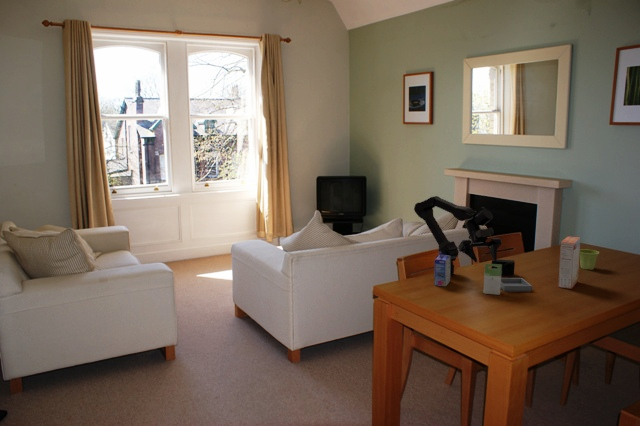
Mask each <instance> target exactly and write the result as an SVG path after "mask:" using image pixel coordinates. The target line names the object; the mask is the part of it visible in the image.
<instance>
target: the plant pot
mask: <svg viewBox="0 0 640 426" xmlns="http://www.w3.org/2000/svg"><path fill="white" fill-rule="evenodd" d="M599 254H600V251H598V250H594V249H587V248H585V249H584V248H583V249H580V252H579V263H580V264H579V266H580V268H581V269H582V270H589V271H590V270H591V271H592V270H594V269H595V267H596V262H597V258H598V256H599Z"/></svg>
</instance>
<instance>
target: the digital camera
mask: <svg viewBox="0 0 640 426" xmlns="http://www.w3.org/2000/svg"><path fill="white" fill-rule="evenodd" d="M491 264H501V265H502V267H501V271H502V272H501V277H502V276H504V277H505V276H506V277H515V265H516V262H515V260H514V259H513V260H512V259H503V258H501V259H500V258H497V260H496V261H494V259H493V258H491ZM490 267H491V268H492V269H498V267H495V266H490Z"/></svg>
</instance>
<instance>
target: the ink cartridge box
mask: <svg viewBox="0 0 640 426" xmlns="http://www.w3.org/2000/svg"><path fill="white" fill-rule="evenodd" d="M440 253H441V251H440V252H439V251H438V255H439V256H438V255H437V256H438V257H437V256H436V257H437V258H436V257H435V259H434V286H438V287H447V285H448V284H449V283H451V282H450V281H451V275H450V255H442V253H441V255H440Z"/></svg>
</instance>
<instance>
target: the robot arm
mask: <svg viewBox="0 0 640 426" xmlns="http://www.w3.org/2000/svg"><path fill="white" fill-rule="evenodd" d="M435 207H437V208H439V209H441V210H443V211H445V212H448V213H450V214H452V216H453V217H454V218H455V219H456V220H458V221H460V222H463V225H462V227H461V228H462V229H466V230H467V232H468V235H469V236H468V239H462V240H461V241H460V242H459V245H458V246H457V244H456V243H455V241H454V240H453V241H450V240H448V238H447V237H446V235H445V233H444V231H443V229H442V228H441V227H440V224H439V223H438V221H437V220H436V218H435V216H434V208H435ZM413 210H414V213H415V214H416V215H417V216H418V218H420V219H422V221H424V223H425V224H426V226H427V228H428V229H429V231H430V233H431V235H432V236H433V238H434V239H435V241H436V242H437V244H438V253H439V252H440V251H441V253H442V255H450V276H454V275H455V274H454V273H455V265H454V262H456V260H457V258H458V256H459V252H460V253H462V254H464V255H466V256H468V257H469V258H470V259H471V260H472V261H474V263H477V262H478V259H477V255H476V253H475V251H474V248H482V247H486V248H488V249H489V250H488V251H489V253H490V256H491V257H492V259H494V261H496V260H497V259H498V257H497V251H498V249H499V248H500V247H501V246H502V244H503V242H502V240H501V238H499V237H498V238H497V237H495V238H494V237H493V238H491V239H490V240H489V241H488V238H489V237H491V236H493V235H494V234H495V232H494V228H493V227H488V228H482V229H481V227H483V226H485V225H486V224H488V223H490V221H491V220H492V219H494V215H493V212H492V211H490V210H489V209H487V208H486V207H485V206H482V207H480V208H479V209H478V210H477V211H476V210H473V208H472V207H469V206H462V205H457V204H455V203H453V202H450V201H449V200H446V199H443V198H441V197H439V196H438V195H437V196H436V195H435V196H430V197H429V198H427V199H425V200H422V201H421V202H417V203H415V204H414V208H413ZM464 221H466V222H464ZM441 253H440V255H441ZM438 256H439V254H438V255H436V257H435V259H436V258H437V257H438Z"/></svg>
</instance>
